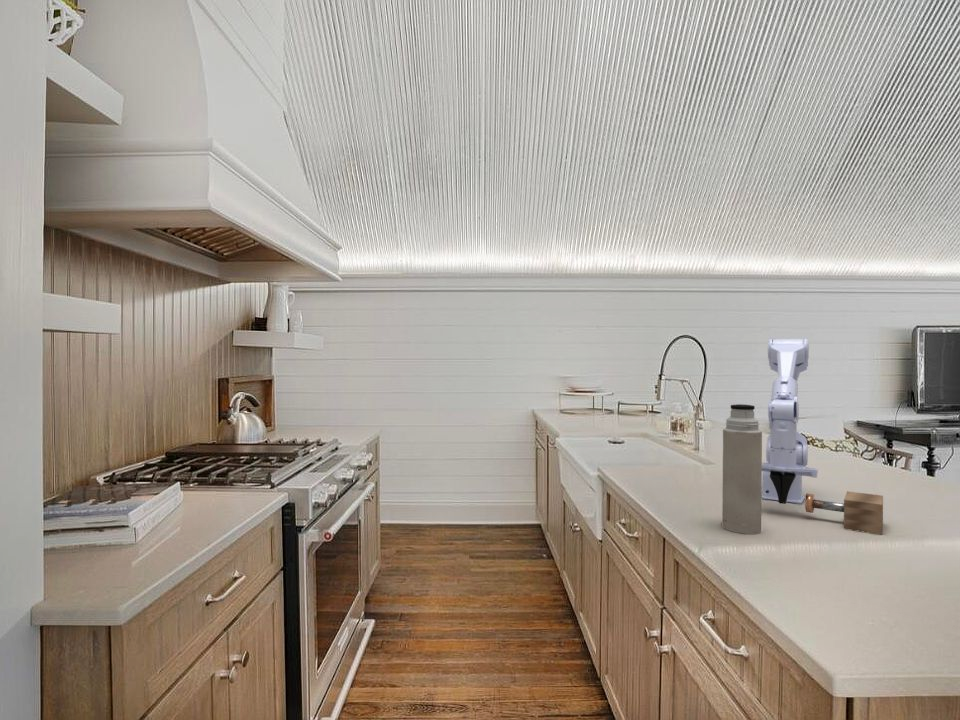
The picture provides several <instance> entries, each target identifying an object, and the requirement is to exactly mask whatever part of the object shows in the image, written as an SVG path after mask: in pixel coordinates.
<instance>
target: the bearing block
mask: <svg viewBox="0 0 960 720" xmlns="http://www.w3.org/2000/svg"><path fill="white" fill-rule="evenodd" d="M843 504H844V512H843V529H844V528H845V529H844V530H848V529H852V530H851V531H855V530H859V531H858V532H861V531H864V532H863V533H867V532H869V533H868V534H874V535H875V534H876V535H883V529H882V528H884V527H883V526H884V495H881V494H880V495H879V494H872V493H871V494H870V493H863V492H855V491H848V490H847V491H846V493H845V496H844V498H843Z"/></svg>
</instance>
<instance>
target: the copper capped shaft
mask: <svg viewBox="0 0 960 720" xmlns="http://www.w3.org/2000/svg"><path fill="white" fill-rule="evenodd" d="M804 501H805V503H804V505H805V508H804V509H805V513H810V514H813V513H814V512H815V509H818V510H819V509H820V510H824V511H832V512H840V513H844V502H843V503H841V502H834V501H827V500H820V499H815V494H814V493H806V494H805V499H804Z"/></svg>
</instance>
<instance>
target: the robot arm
mask: <svg viewBox="0 0 960 720" xmlns="http://www.w3.org/2000/svg"><path fill="white" fill-rule="evenodd" d="M809 341H810V340H809V339H807V338H780V339H779V338H778V339H777V338H776V339H775V338H774V339H773V338H770V339H769V340H768V341H767V360H768V365H769V368H770V370H772V371H774V372H776V373H777V376H778V377H777V378H775V379H774V380H773V382H772V388H771V396H770V397H771V400H769V401H768V403H767V404H768V405H767V406H768V407H767V418H768V423H769V426H768V427H769V428H768V429H770V430H769V433H770V434H768V437H767V440H766V448H765V449H766V450H765V458H766V459H765V460H766V462H762V498H761V499H765V500H772V501H778V503H779V504H783V505H786V503H792V504H799V505H800V504H803V502H804V501H805V500H806V495H805V496H804V495H803V494H802V493H803V477H811V478H814V479H815V478H818V471H819V470H818V468H815V467H808V463H809V461H808V459H809V458H808V457H809V456H808V455H809V454H808V453H809V452H808V450H809V449H808V448H809V447H808V440H807V438H806V436H804V435H803V434H802V433H800V432H799V431H798V430H797V429H798V428H797V425H798V422H799V417H800V405H799V400H798V398H799V397H798V393H799V392H798V390H799V387H798V386H799V385H798V379H799V376H800V374H801V373H802V372H804V371H807V370H808V367H809V351H810V347H809V346H810V344H809V343H810V342H809ZM806 466H807V467H806Z"/></svg>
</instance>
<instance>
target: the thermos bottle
mask: <svg viewBox="0 0 960 720" xmlns="http://www.w3.org/2000/svg"><path fill="white" fill-rule="evenodd" d="M755 409H756V408H755V405H751V404H738V403H737V404H731V405H730V416H729V417H728V418H726V420H725V421H726V422H725V426H726V427H723V429H722V502H721V503H722V507H721V508H722V511H721V513H722V516H721V517H722V519H721V520H722V521H721V522H722V523H721V524H722V528H723V529H725V530H727V531H729V532H732V533H736V534H737V533H738V534H744V535H745V534H746V535H755V534H759V533H761V532H762V499H763V498H762V476H763V471H762V463H763V462H762V461H763V458H762V457H763V455H762V454H763V449H762V448H763V431H762V429H761V430H760V429H759V425H760V423H759V420H758V419H757V418H756V417H755V411H754V410H755Z"/></svg>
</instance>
